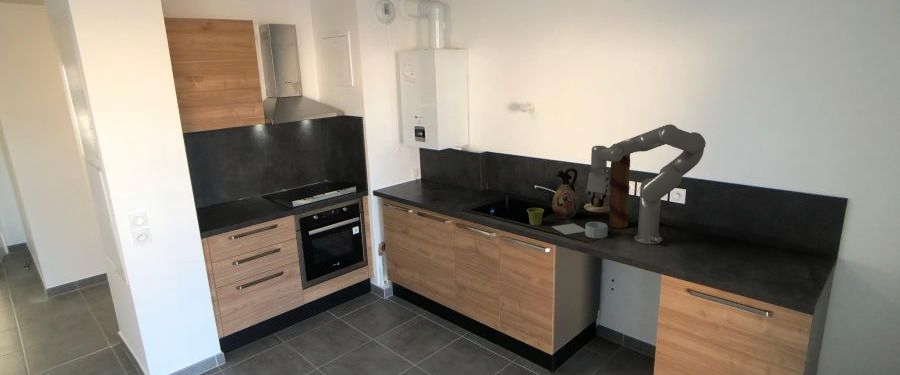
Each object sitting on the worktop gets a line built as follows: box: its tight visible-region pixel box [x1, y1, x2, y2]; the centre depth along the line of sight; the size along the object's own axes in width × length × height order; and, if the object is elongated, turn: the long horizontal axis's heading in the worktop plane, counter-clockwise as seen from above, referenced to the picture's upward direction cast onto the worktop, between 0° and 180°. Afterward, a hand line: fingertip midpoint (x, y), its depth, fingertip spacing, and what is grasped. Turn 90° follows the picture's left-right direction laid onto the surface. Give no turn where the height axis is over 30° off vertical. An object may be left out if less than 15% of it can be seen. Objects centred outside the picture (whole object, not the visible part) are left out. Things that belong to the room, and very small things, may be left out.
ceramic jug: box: [551, 167, 580, 219], centre depth 288 cm, size 17×15×30 cm
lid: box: [584, 196, 610, 213], centre depth 254 cm, size 12×12×6 cm
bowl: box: [584, 221, 609, 239], centre depth 257 cm, size 11×11×6 cm
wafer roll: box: [608, 143, 631, 229], centre depth 269 cm, size 10×11×45 cm
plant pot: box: [526, 207, 545, 226], centre depth 279 cm, size 9×9×9 cm
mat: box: [552, 223, 585, 235], centre depth 268 cm, size 14×14×1 cm
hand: (597, 205), depth 254 cm, fingers closed on lid, 3 cm apart
